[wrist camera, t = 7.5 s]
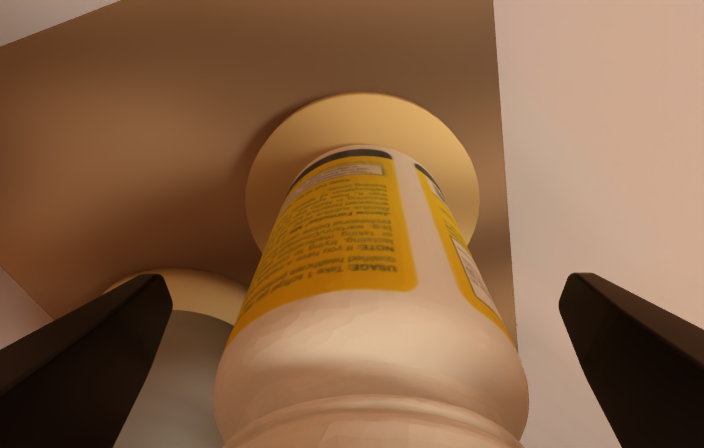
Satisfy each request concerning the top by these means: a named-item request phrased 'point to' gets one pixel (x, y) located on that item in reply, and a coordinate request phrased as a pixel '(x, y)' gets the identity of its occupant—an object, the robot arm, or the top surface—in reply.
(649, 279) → the top surface
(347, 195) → the supplement bottle
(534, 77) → the top surface
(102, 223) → the board
